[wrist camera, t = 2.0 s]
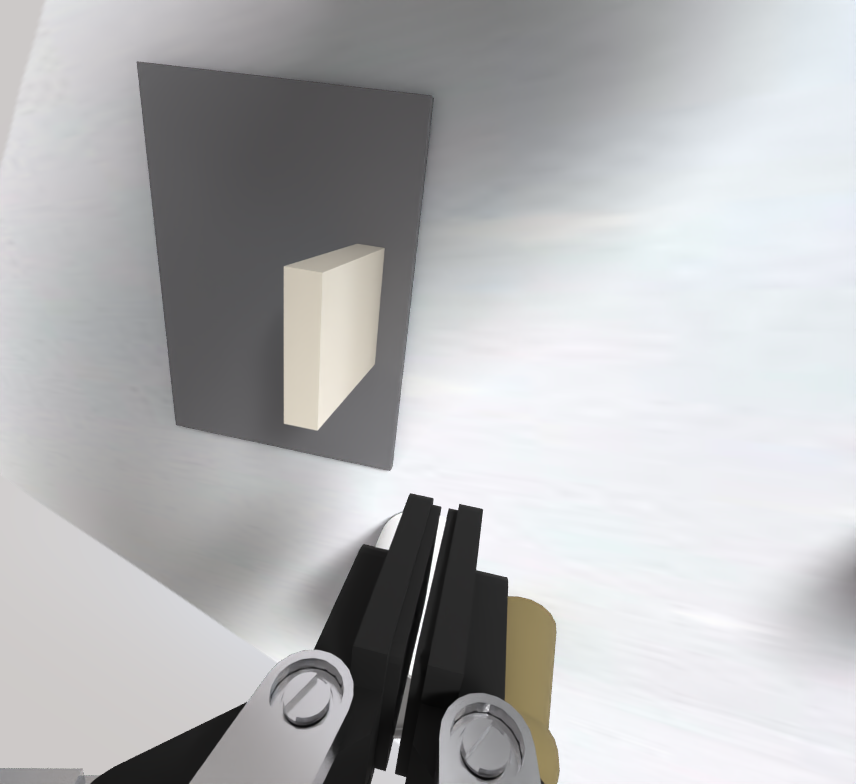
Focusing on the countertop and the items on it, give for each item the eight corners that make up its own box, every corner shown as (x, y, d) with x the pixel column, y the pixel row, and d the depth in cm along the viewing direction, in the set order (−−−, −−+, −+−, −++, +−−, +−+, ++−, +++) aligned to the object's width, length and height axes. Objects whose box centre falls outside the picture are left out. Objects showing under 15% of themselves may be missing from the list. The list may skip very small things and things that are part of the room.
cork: (461, 611, 37) (438, 767, 27) (529, 585, 34) (532, 745, 24) (503, 662, 38) (496, 830, 28) (571, 641, 36) (590, 814, 26)
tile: (354, 243, 26) (279, 265, 18) (384, 247, 26) (322, 272, 18) (347, 359, 29) (280, 423, 21) (374, 364, 29) (317, 430, 21)
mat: (144, 64, 25) (136, 61, 25) (433, 97, 24) (431, 95, 23) (181, 421, 34) (175, 424, 34) (392, 466, 33) (390, 470, 32)
